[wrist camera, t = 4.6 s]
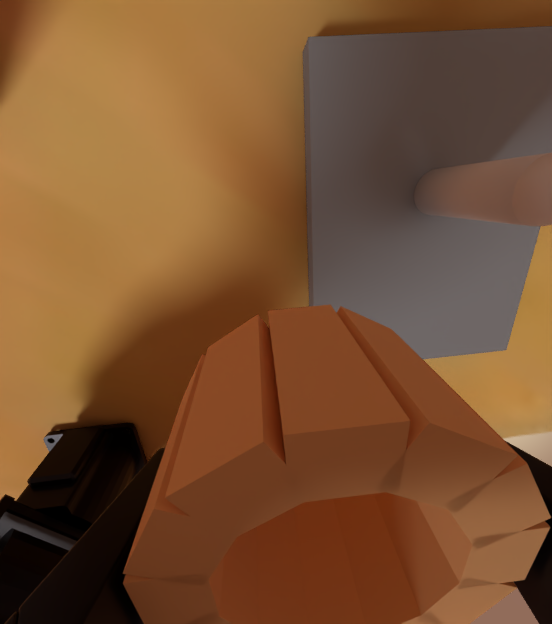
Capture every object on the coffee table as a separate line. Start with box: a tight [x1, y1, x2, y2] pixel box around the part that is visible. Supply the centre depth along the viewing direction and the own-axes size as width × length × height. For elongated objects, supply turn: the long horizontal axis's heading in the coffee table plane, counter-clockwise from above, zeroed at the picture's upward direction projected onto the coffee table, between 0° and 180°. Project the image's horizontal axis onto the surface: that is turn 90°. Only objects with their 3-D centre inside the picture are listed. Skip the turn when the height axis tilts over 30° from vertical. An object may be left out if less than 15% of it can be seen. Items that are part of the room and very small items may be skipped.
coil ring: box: [123, 305, 551, 624], centre depth 7 cm, size 7×7×4 cm
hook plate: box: [303, 26, 552, 359], centre depth 14 cm, size 18×14×9 cm
